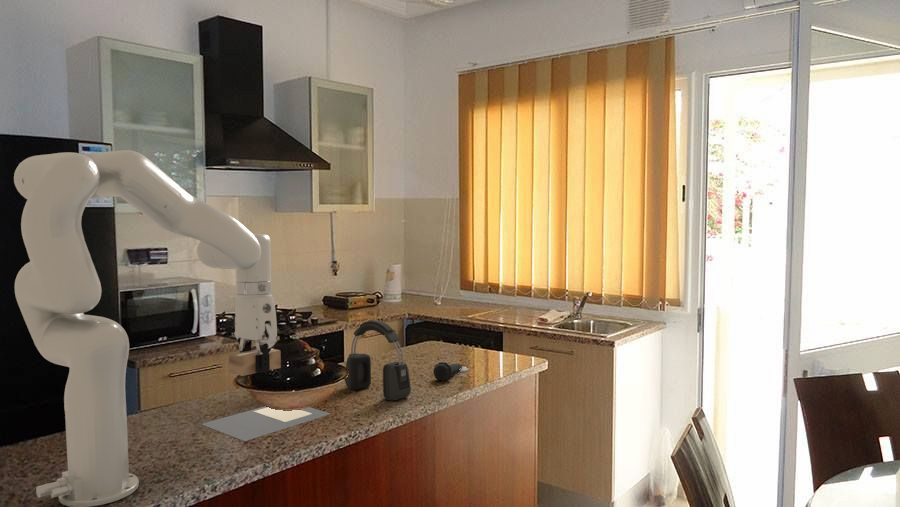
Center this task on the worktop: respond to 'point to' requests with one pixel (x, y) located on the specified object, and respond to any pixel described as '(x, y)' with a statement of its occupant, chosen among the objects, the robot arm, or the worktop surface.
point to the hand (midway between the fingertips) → (255, 368)
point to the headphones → (393, 373)
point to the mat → (262, 421)
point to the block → (251, 362)
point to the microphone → (445, 370)
